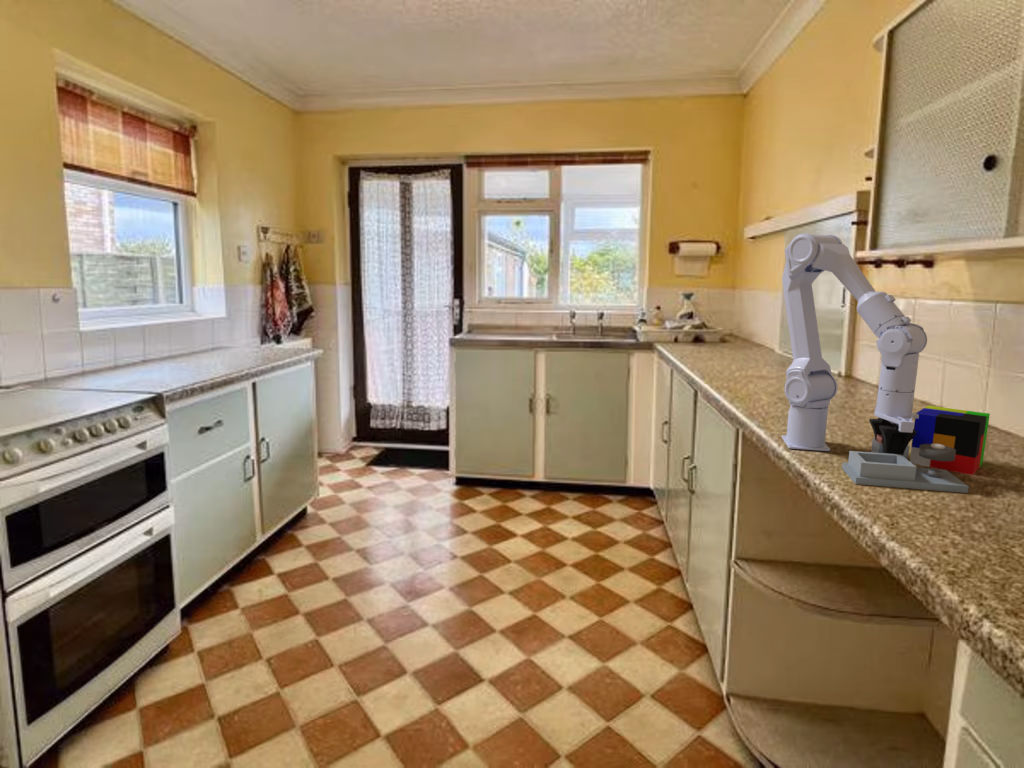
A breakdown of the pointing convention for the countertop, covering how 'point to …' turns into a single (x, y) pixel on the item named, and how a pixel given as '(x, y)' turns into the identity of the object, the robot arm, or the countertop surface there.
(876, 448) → the red and grey block
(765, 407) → the countertop surface
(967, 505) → the countertop surface
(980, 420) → the puzzle toy
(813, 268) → the robot arm
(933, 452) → the wheel
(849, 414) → the countertop surface
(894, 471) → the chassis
